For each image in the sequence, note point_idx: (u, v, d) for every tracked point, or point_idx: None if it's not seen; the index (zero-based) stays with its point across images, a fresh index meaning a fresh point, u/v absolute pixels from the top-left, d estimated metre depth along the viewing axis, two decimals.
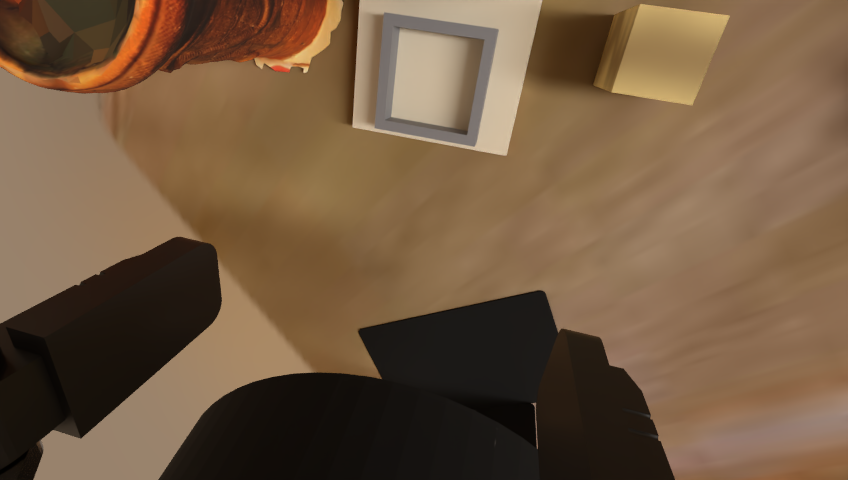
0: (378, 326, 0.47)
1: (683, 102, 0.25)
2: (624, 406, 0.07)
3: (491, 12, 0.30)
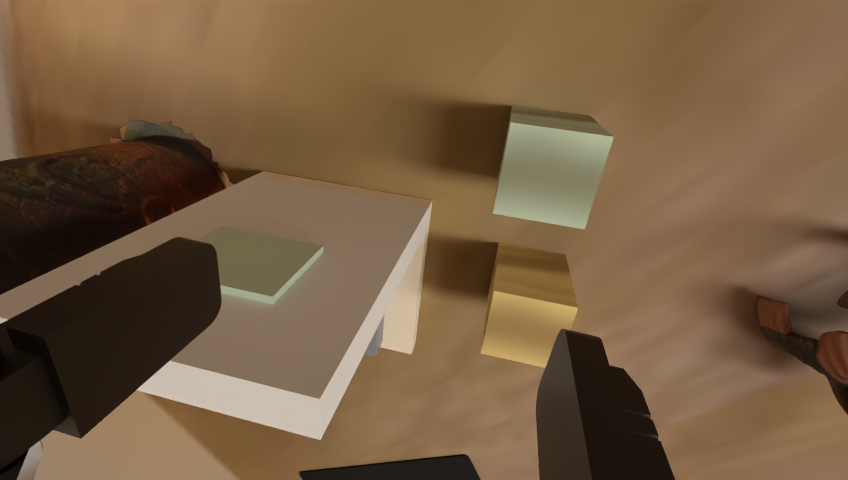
0: (317, 471, 0.48)
1: None
2: (624, 406, 0.07)
3: None
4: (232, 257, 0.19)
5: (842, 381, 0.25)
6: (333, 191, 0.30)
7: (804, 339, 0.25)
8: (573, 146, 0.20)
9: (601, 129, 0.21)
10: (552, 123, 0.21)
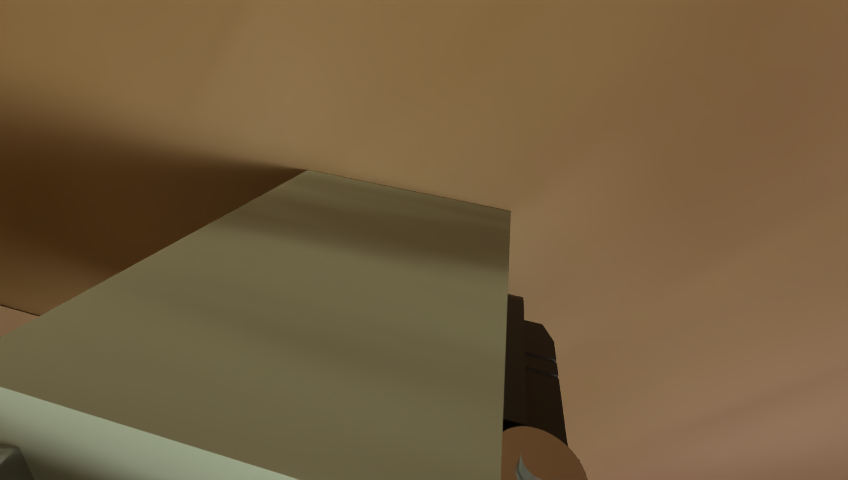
0: None
1: None
2: (533, 352, 0.08)
3: None
4: None
5: None
6: None
7: None
8: None
9: (482, 363, 0.05)
10: (262, 325, 0.05)
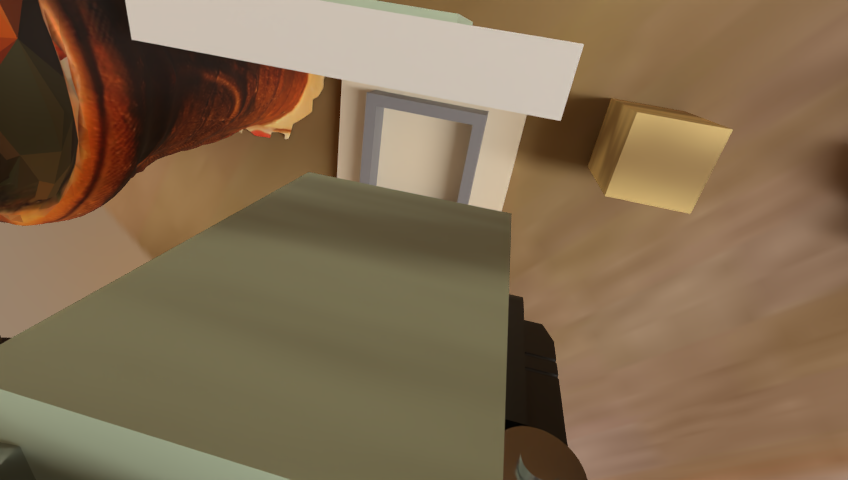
0: None
1: (681, 210, 0.24)
2: (533, 352, 0.08)
3: None
4: None
5: None
6: None
7: None
8: None
9: (484, 366, 0.05)
10: (265, 328, 0.05)
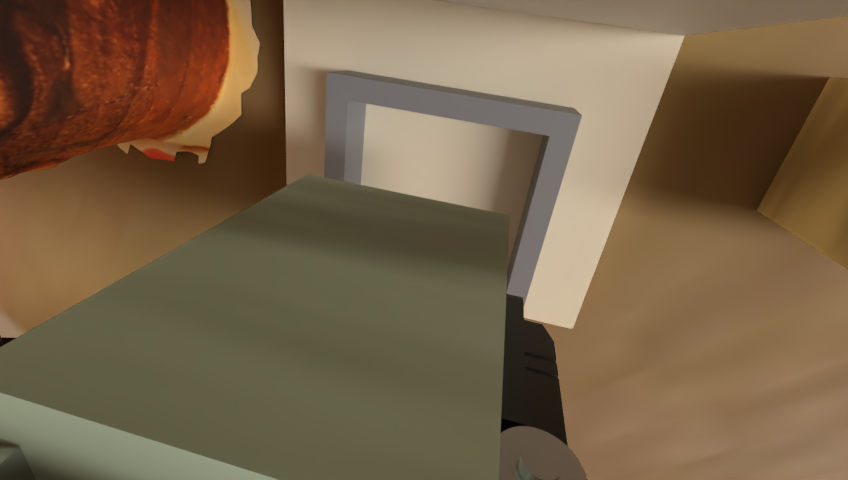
0: None
1: None
2: (533, 352, 0.08)
3: (560, 72, 0.14)
4: None
5: None
6: None
7: None
8: None
9: (481, 369, 0.05)
10: (263, 331, 0.05)
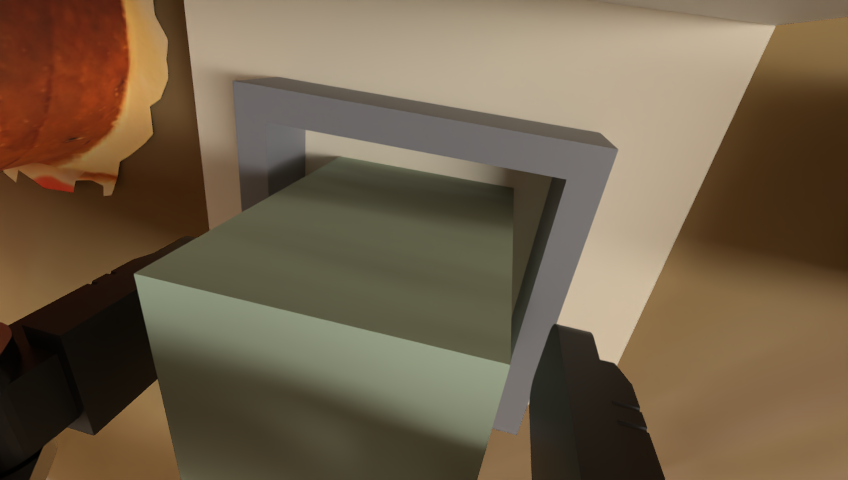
0: None
1: None
2: (613, 399, 0.07)
3: (580, 80, 0.09)
4: None
5: None
6: None
7: None
8: (364, 376, 0.05)
9: (496, 281, 0.06)
10: (335, 256, 0.06)
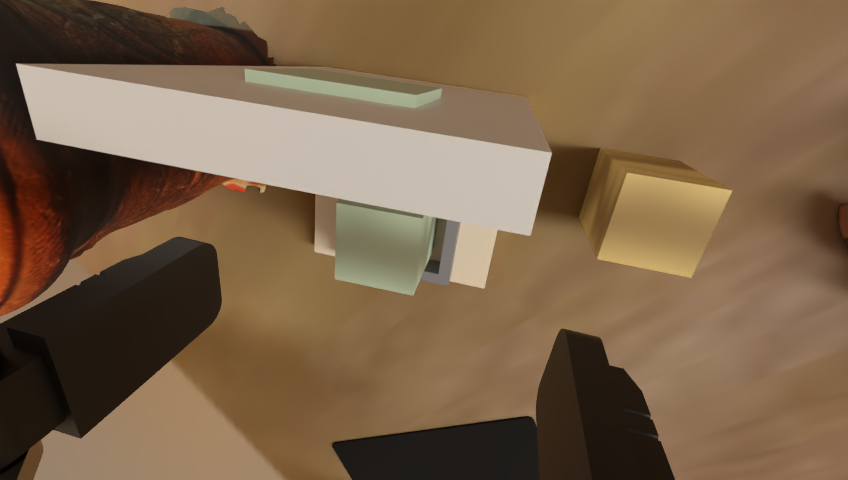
0: (353, 441, 0.43)
1: (680, 274, 0.22)
2: (624, 406, 0.07)
3: None
4: (342, 78, 0.15)
5: None
6: (414, 81, 0.26)
7: None
8: (390, 225, 0.22)
9: None
10: None
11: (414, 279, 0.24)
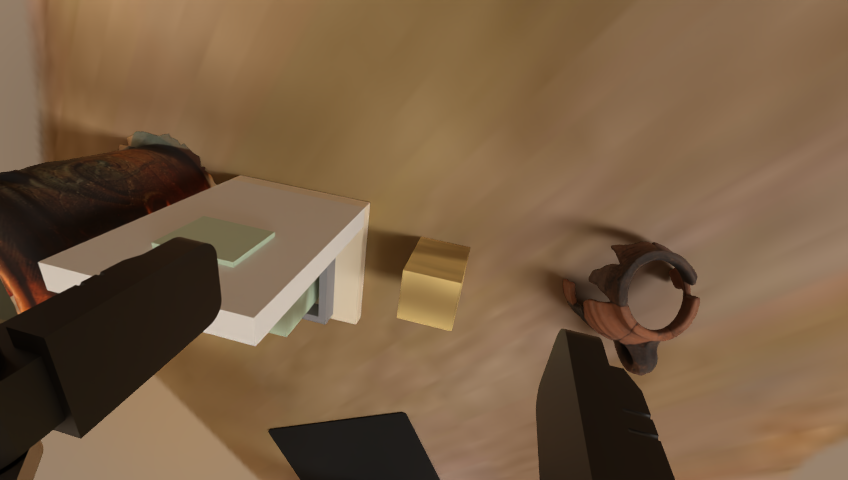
0: (283, 428, 0.56)
1: (445, 329, 0.35)
2: (624, 406, 0.07)
3: None
4: (209, 237, 0.28)
5: (605, 336, 0.35)
6: (292, 193, 0.38)
7: (578, 307, 0.35)
8: None
9: None
10: None
11: (286, 327, 0.37)
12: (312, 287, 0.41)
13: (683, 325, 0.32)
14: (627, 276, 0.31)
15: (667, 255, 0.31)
